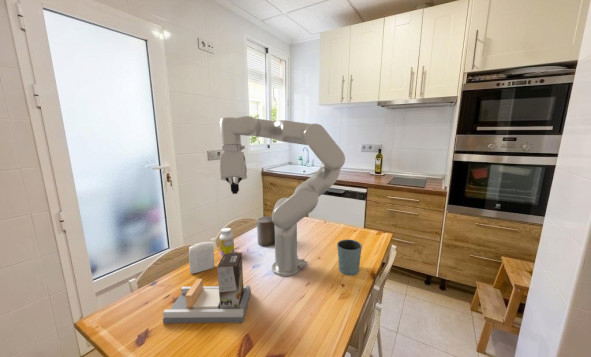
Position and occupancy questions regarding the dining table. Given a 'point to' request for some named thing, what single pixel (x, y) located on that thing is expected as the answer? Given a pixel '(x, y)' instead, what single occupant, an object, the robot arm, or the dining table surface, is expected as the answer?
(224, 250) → the supplement bottle
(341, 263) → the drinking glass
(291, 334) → the dining table surface
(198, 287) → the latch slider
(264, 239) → the pillar candle
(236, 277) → the coffee box
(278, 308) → the dining table surface
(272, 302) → the dining table surface
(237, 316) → the rail board
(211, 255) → the photo printer
